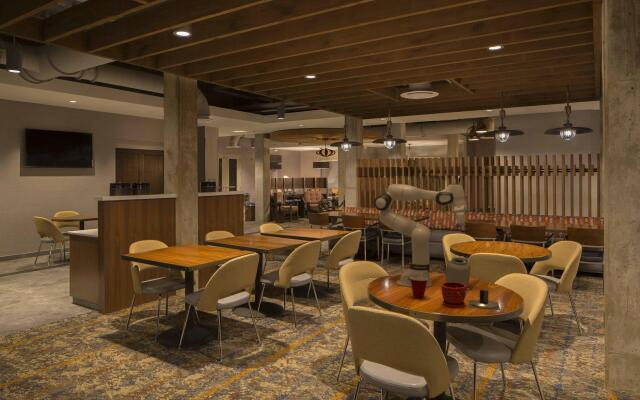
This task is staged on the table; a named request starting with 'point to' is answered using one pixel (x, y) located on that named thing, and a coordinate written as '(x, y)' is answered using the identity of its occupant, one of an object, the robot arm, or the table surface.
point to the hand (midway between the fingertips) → (463, 229)
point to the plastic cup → (418, 286)
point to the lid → (484, 301)
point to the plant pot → (453, 294)
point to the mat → (483, 308)
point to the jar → (458, 271)
